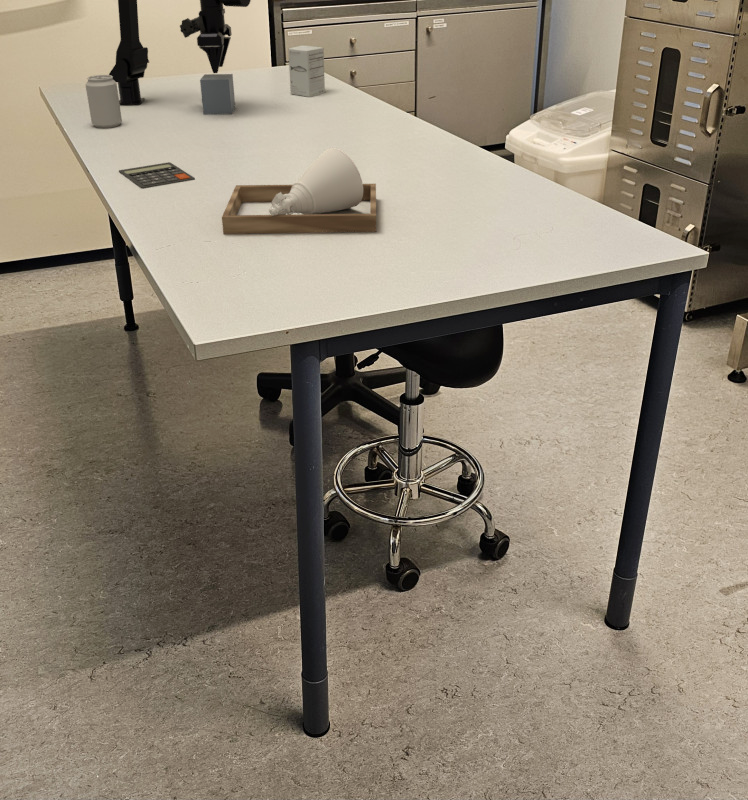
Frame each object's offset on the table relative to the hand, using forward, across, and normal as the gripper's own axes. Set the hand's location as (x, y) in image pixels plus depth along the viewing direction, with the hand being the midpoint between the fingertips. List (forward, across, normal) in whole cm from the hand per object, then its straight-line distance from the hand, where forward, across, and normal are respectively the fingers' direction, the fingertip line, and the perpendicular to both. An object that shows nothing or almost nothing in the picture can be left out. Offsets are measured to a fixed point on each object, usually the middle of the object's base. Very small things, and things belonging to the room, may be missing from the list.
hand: (218, 69), depth 242 cm
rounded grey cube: (+11, 0, -1) cm, 11 cm away
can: (+11, +14, -27) cm, 33 cm away
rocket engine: (+11, +88, +28) cm, 93 cm away
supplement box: (+11, -21, +22) cm, 32 cm away
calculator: (+11, +60, -5) cm, 61 cm away
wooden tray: (+11, +88, +28) cm, 93 cm away
